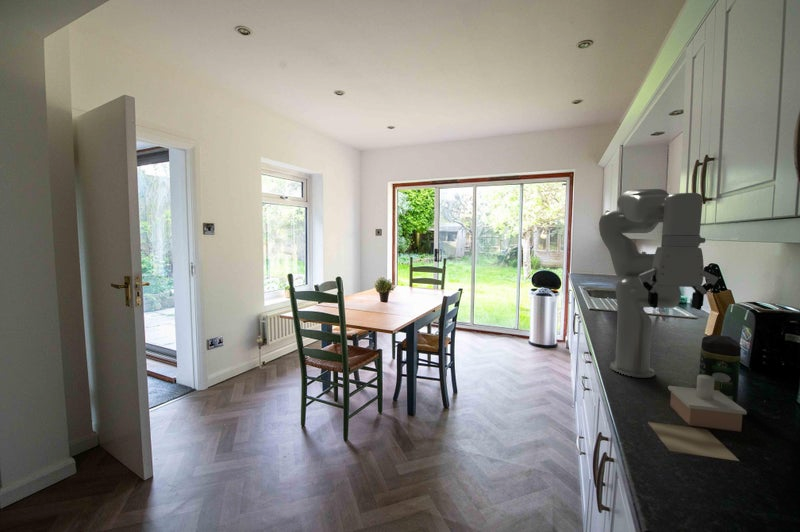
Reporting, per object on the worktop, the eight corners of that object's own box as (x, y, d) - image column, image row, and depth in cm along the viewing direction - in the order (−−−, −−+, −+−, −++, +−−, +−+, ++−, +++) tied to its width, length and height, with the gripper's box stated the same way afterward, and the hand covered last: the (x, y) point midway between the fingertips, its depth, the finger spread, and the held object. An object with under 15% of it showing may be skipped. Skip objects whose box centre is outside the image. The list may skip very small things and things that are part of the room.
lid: (668, 388, 93) (669, 366, 93) (718, 393, 90) (719, 371, 90) (688, 408, 83) (690, 383, 82) (746, 414, 80) (748, 389, 79)
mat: (647, 424, 85) (647, 421, 85) (706, 431, 82) (706, 429, 82) (669, 453, 74) (669, 450, 73) (739, 463, 70) (740, 461, 70)
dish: (670, 407, 93) (671, 389, 92) (715, 412, 90) (717, 394, 90) (689, 427, 83) (690, 407, 83) (740, 434, 81) (742, 413, 80)
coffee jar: (696, 393, 101) (701, 330, 100) (734, 401, 96) (739, 335, 95) (697, 406, 94) (702, 338, 92) (738, 415, 89) (744, 344, 87)
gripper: (711, 241, 91) (705, 306, 93) (635, 241, 95) (631, 303, 97) (730, 243, 83) (723, 313, 86) (646, 243, 88) (642, 309, 90)
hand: (674, 307), depth 91 cm, fingers open, 9 cm apart
